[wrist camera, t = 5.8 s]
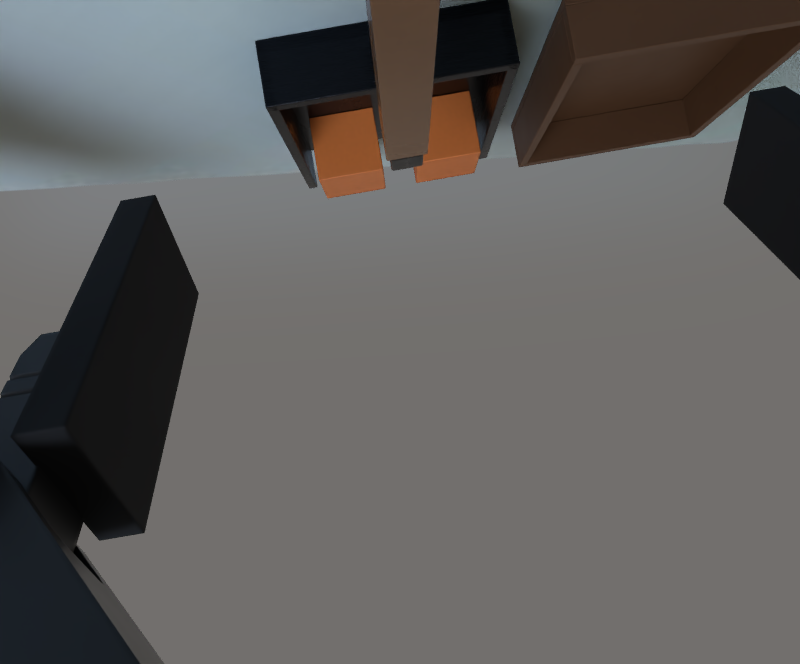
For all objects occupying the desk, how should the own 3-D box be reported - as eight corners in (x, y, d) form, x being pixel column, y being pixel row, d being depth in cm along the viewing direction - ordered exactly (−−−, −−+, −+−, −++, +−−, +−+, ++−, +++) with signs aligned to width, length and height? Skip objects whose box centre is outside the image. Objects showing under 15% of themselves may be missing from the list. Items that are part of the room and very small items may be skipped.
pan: (126, -236, 18) (167, 35, 17) (589, -317, 18) (644, -49, 17) (301, 141, 46) (319, 246, 46) (477, 111, 46) (497, 216, 46)
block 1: (308, 117, 40) (319, 180, 40) (372, 106, 40) (383, 169, 40) (318, 141, 45) (327, 198, 44) (375, 131, 45) (385, 188, 44)
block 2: (405, 101, 40) (416, 163, 40) (469, 89, 40) (481, 152, 40) (406, 126, 45) (416, 183, 44) (464, 116, 45) (474, 173, 44)
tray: (563, -4, 33) (575, 59, 33) (829, -50, 33) (843, 12, 33) (510, 125, 50) (518, 167, 50) (685, 95, 50) (694, 137, 50)
